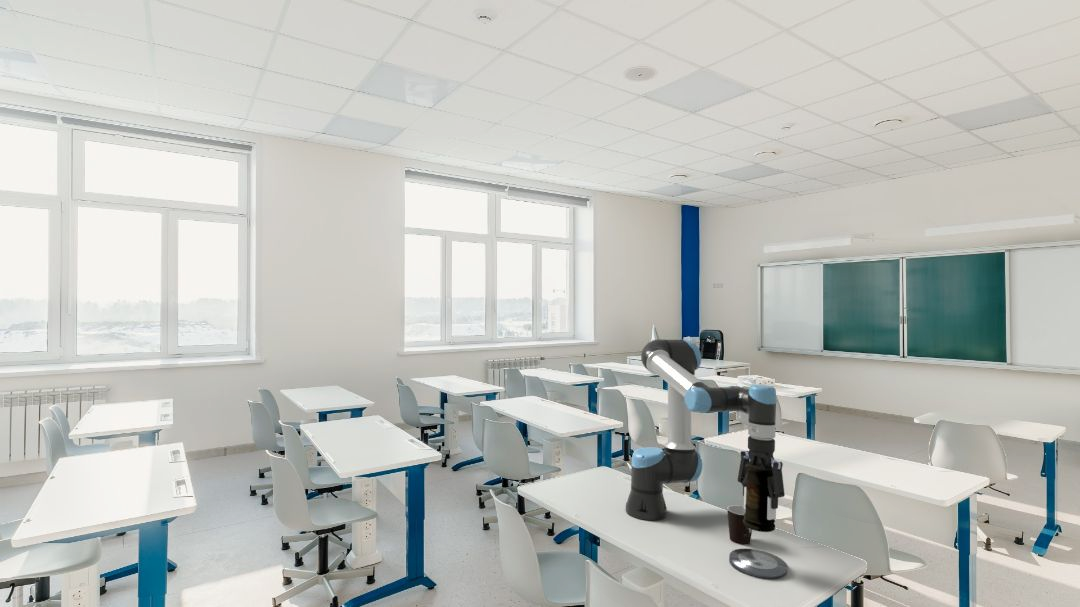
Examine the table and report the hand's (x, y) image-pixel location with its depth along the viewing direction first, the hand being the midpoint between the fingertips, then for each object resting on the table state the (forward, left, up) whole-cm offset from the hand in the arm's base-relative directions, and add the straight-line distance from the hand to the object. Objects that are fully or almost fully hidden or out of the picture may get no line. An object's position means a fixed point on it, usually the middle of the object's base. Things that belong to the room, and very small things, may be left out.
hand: (759, 513), depth 157 cm
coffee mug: (-15, +10, -16) cm, 24 cm away
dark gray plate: (0, 0, -16) cm, 16 cm away
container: (0, 0, -4) cm, 4 cm away
